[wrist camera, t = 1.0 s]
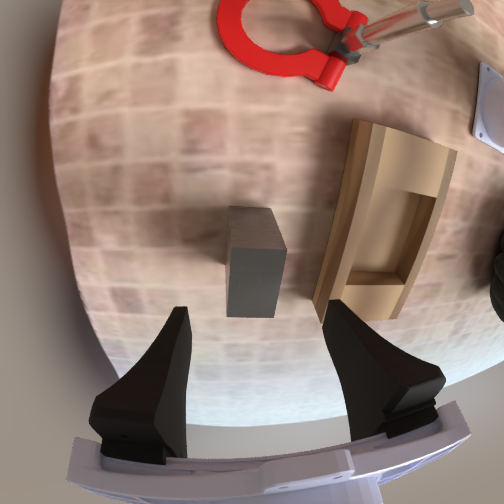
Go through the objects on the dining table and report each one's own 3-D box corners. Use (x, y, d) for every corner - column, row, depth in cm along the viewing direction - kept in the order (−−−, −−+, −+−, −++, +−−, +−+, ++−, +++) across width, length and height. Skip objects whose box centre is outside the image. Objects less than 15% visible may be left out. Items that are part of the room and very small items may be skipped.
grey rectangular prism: (271, 208, 20) (287, 249, 15) (262, 266, 23) (273, 317, 18) (229, 205, 20) (231, 247, 15) (225, 264, 23) (226, 317, 17)
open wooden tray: (434, 142, 18) (457, 151, 16) (384, 299, 26) (396, 318, 24) (353, 118, 17) (373, 122, 15) (312, 300, 25) (320, 323, 23)
